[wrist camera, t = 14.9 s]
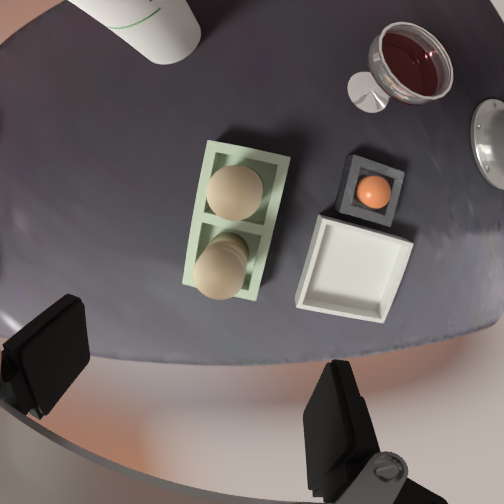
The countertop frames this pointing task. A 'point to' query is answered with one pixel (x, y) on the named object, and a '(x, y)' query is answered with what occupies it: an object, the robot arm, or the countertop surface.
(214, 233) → the pale green flat tray
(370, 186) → the button
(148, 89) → the countertop surface
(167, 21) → the cylindrical container
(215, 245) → the cylinder
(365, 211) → the button housing
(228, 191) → the cylinder
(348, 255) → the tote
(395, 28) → the wineglass
